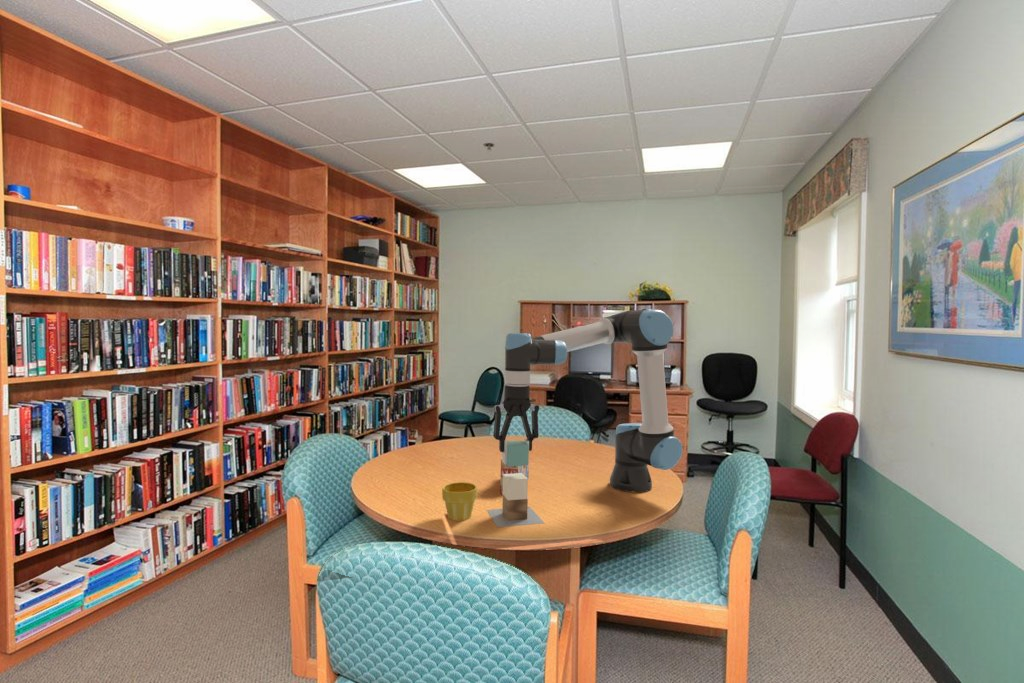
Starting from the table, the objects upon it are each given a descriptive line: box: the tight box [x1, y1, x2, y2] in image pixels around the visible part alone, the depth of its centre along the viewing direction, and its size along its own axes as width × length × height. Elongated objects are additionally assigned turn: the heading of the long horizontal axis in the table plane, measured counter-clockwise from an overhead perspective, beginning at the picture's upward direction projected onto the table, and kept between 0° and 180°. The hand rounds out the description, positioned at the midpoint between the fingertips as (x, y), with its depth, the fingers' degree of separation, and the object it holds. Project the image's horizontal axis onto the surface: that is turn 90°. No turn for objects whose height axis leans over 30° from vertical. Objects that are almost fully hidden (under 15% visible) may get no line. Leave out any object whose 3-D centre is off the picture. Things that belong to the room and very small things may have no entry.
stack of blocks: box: [499, 458, 530, 495], centre depth 185 cm, size 21×6×12 cm, turn 168°
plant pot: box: [441, 481, 478, 522], centre depth 151 cm, size 10×10×10 cm
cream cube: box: [501, 473, 529, 500], centre depth 151 cm, size 6×6×6 cm
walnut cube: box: [501, 494, 529, 521], centre depth 152 cm, size 6×6×6 cm
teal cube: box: [506, 440, 530, 466], centre depth 151 cm, size 6×6×6 cm
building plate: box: [486, 506, 545, 528], centre depth 152 cm, size 14×14×1 cm
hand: (515, 462), depth 151 cm, fingers closed on teal cube, 6 cm apart
